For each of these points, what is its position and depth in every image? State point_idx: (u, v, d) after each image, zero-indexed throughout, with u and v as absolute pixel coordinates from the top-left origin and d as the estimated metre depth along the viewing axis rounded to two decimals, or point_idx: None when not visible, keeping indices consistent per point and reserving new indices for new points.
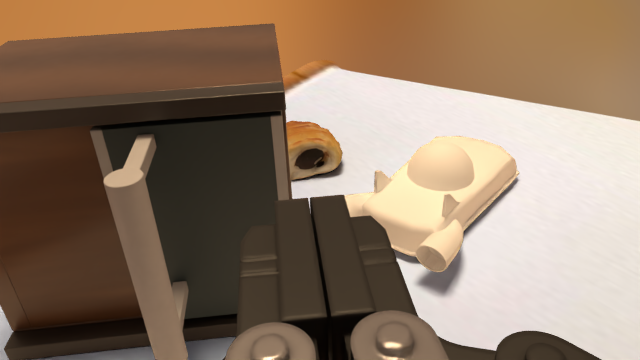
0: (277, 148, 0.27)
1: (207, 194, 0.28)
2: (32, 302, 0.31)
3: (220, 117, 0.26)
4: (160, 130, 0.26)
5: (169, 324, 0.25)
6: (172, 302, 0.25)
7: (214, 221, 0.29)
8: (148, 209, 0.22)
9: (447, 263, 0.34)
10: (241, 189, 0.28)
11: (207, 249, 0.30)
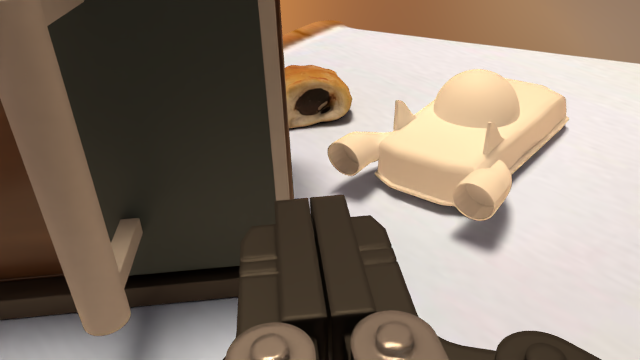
0: (265, 9, 0.18)
1: (163, 83, 0.19)
2: None
3: None
4: None
5: (95, 260, 0.16)
6: (99, 226, 0.16)
7: (175, 127, 0.20)
8: (46, 56, 0.13)
9: (496, 206, 0.25)
10: (213, 76, 0.19)
11: (167, 170, 0.21)
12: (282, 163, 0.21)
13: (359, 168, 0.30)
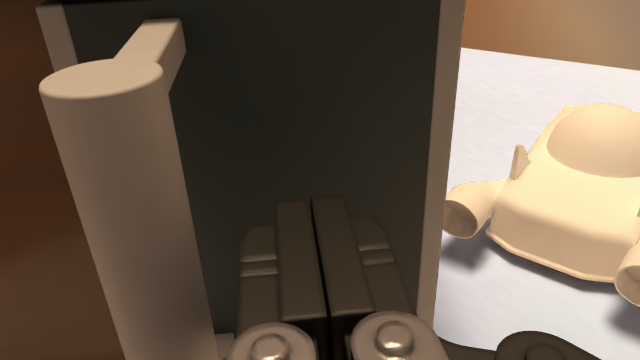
0: (445, 61, 0.12)
1: (286, 163, 0.13)
2: None
3: None
4: (195, 11, 0.11)
5: None
6: None
7: None
8: (175, 177, 0.08)
9: None
10: (357, 153, 0.13)
11: None
12: (433, 262, 0.16)
13: (477, 231, 0.24)
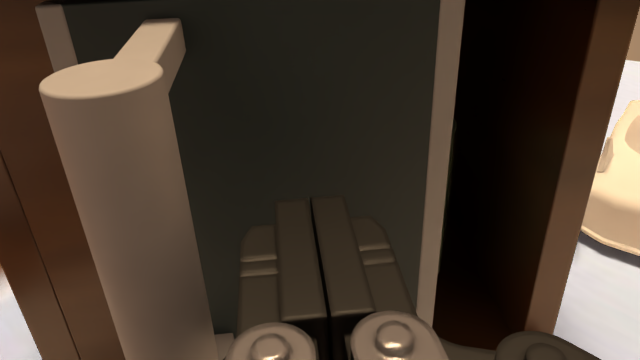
0: (445, 61, 0.12)
1: (286, 163, 0.13)
2: (98, 352, 0.17)
3: None
4: (195, 11, 0.11)
5: None
6: None
7: None
8: (175, 178, 0.08)
9: None
10: (357, 153, 0.13)
11: None
12: (433, 262, 0.16)
13: None
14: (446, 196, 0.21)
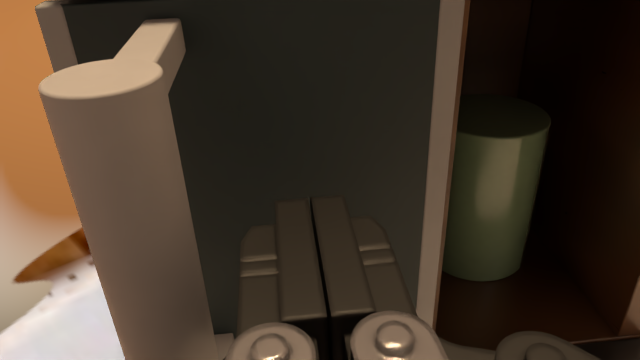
0: (445, 61, 0.12)
1: (285, 163, 0.13)
2: None
3: None
4: (194, 11, 0.11)
5: None
6: None
7: None
8: (175, 178, 0.08)
9: None
10: (356, 153, 0.13)
11: None
12: (433, 262, 0.16)
13: None
14: (537, 188, 0.21)
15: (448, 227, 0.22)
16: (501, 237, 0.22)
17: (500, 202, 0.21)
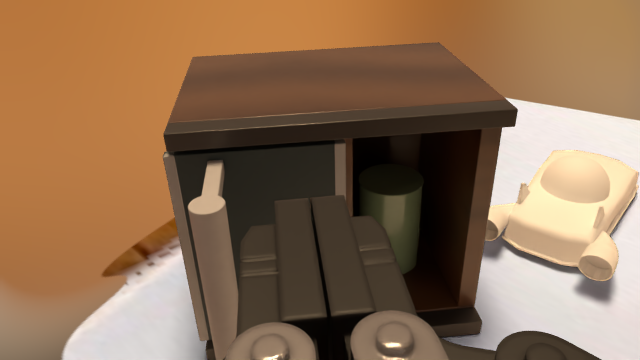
0: (339, 173, 0.28)
1: (268, 217, 0.29)
2: None
3: (286, 144, 0.27)
4: (229, 156, 0.27)
5: None
6: None
7: None
8: (227, 234, 0.23)
9: (613, 272, 0.36)
10: None
11: None
12: None
13: None
14: (418, 221, 0.37)
15: None
16: (397, 250, 0.37)
17: (394, 230, 0.36)
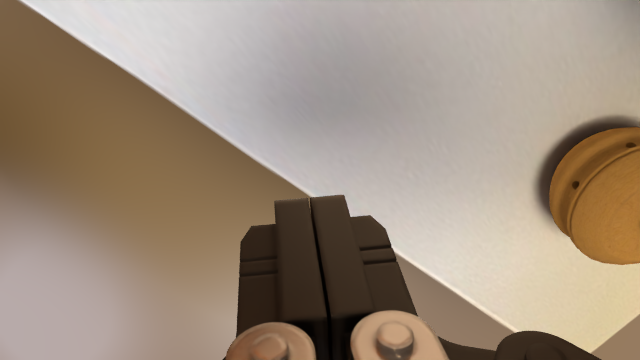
0: None
1: None
2: None
3: None
4: None
5: None
6: None
7: None
8: None
9: None
10: None
11: None
12: None
13: None
14: None
15: None
16: None
17: None
